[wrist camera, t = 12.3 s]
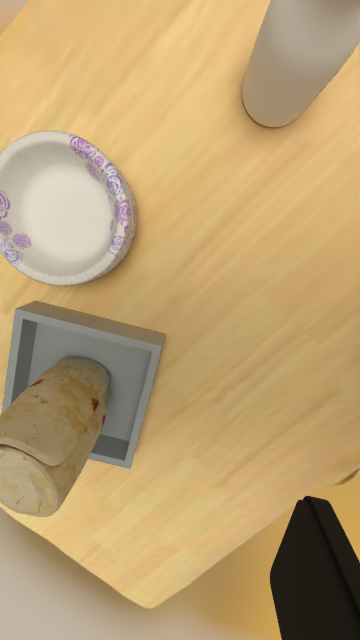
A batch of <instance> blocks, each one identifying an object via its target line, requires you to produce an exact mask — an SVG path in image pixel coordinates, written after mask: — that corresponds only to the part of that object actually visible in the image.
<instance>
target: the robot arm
mask: <svg viewBox="0 0 360 640" xmlns="http://www.w3.org/2000/svg"><path fill="white" fill-rule="evenodd" d="M270 585H271V590H272V595H273V600H274V604H275V609H276V613H277V619H278V623H279V628H280V633H281V638H282V640H360V562H359V560H358V558H357V556H356V554H355V552H354V550H353V548H352V546H351V544H350V542H349V540H348V538H347V536H346V534H345V532H344V530H343V528H342V526H341V524H340V522H339V520H338V518H337V516H336V514H335V512H334V510H333V508H332V506H331V504H330V503H329V502H328V501H327V500H324V499H320V498H315V497H311V496H305V497H304V499H303V500H298V502H297V503H296V506H295V509H294V511H293V514H292V516H291V519H290V522H289V524H288V527H287V529H286V532H285V534H284V537H283V539H282V542H281V545H280V547H279V550H278V552H277V555H276V557H275V560H274V562H273V565H272V568H271V572H270Z"/></svg>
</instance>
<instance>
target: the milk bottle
mask: <svg viewBox="0 0 360 640" xmlns="http://www.w3.org/2000/svg"><path fill="white" fill-rule="evenodd" d="M359 41H360V0H271V2H270V4H269V7H268V9H267V12H266V14H265V17H264V19H263V22H262V25H261V28H260V31H259V34H258V36H257V39H256V42H255V45H254V48H253V51H252V54H251V57H250V60H249V63H248V66H247V69H246V72H245V76H244V79H243V84H242V98H243V103H244V106H245V108H246V110H247V112H248V114H249V115H250V116H251V117H252V118H253V119H254V120H255V121H256V122H258V123H259V124H261V125H263V126H267V127H281V126H284V125H287V124H289V123H291V122H292V121H294V120H295V119H296V118H297V117H298V116H299V115H300V114H302V112H303V111H304V110H305V109H306V108H307V107H308V106H309V105H310V104H311V102H312V101H313V100H314V99H315V98H316V97H317V96H318V94H319V93H320V92H321V91H322V90H323V89H324V88H325V87H326V85H327V84H328V83H329V82H330V81H331V80H332V78H333V77H334V76H335V75H336V74H337V73H338V71H339V70H340V69H341V67H342V66H343V65H344V64H345V62H346V61H347V60H348V58H349V57H350V56H351V54H352V53H353V51H354V49H355V48H356V46H357V45H358V43H359Z"/></svg>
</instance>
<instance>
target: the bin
mask: <svg viewBox="0 0 360 640" xmlns="http://www.w3.org/2000/svg"><path fill="white" fill-rule="evenodd" d="M164 339H165V334H162V333H158V332H154V331H150V330H146V329H142V328H138V327H135V326H131V325H127V324H123V323H119V322H115V321H111V320H108V319H104V318H100V317H96V316H92V315H88V314H84V313H81V312H77V311H73V310H69V309H65V308H61V307H57V306H54V305H50V304H46V303H42V302H38V301H34V302H31V303H29V304H26V305H24V306H21V307H19V308H16V310H15V317H14V324H13V332H12V339H11V347H10V354H9V362H8V369H7V377H6V384H5V392H4V399H3V407H2V413H3V412H4V411H5V410H6V409H7V408H8V407H9V406H10V404H11V403H12V402H13V401H14V400H15V399H16V398H17V397H18V396H19V395H20V394H21V393H22V392H24V391H25V390H26V389H27V388H28V387H30V386H31V385H32V384H33V383H34V382H35V381H36V380H37V379H38V378H39V377H40V376H41V375H42V374H43V373H44V372H46V371H47V370H48V369H50V368H51V367H53V366H54V365H55V364H56V363H57V362H58V361H59V360H60V359H62V358H65V357H76V358H86V359H91V360H93V361H95V362H97V363H99V364H100V365H101V366H102V367H103V368H105V369H106V371H107V373H108V376H109V385H108V388H109V393H110V395H109V405H108V410H107V415H106V418H105V421H104V424H103V427H102V429H101V432H100V434H99V436H98V439H97V441H96V443H95V445H94V447H93V449H92V451H91V453H90V455H89V457H88V459H92V460H96V461H100V462H104V463H108V464H112V465H117V466H121V467H125V468H129V469H131V465H132V461H133V457H134V453H135V450H136V446H137V442H138V438H139V434H140V431H141V427H142V423H143V419H144V415H145V411H146V408H147V404H148V400H149V396H150V392H151V389H152V385H153V381H154V377H155V373H156V369H157V366H158V362H159V358H160V354H161V350H162V347H163V343H164Z"/></svg>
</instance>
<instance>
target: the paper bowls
mask: <svg viewBox="0 0 360 640" xmlns="http://www.w3.org/2000/svg"><path fill="white" fill-rule="evenodd" d="M135 228H136V208H135V202H134V198H133V194H132V192H131V189H130V187H129V185H128V183H127V181H126V179H125V178H124V176H123V175H122V173H121V172H120V171H119V169H118V168H117V167H116V166H115V165H114V164H113V162H112V161H111V160H110V159H109V158H108V157H107V156H106V155H105V154H104V153H103V152H102V151H100V150H99V149H98V148H97V147H96V146H94V145H93V144H91V143H89V142H87V141H86V140H84V139H82V138H80V137H78V136H76V135H73V134H70V133H67V132H62V131H54V130H49V131H48V130H47V131H38V132H34V133H31V134H28V135H25V136H23V137H21V138H19V139H17V140H15V141H14V142H12V143H11V144H10V145H8V146H7V147H6V148H5V149H4V150H3V151H2V152H1V153H0V252H1V253H2V255H3V256H4V257H5V258H6V259H7V260H8V261H9V262H10V263H11V264H12V265H13V266H14V267H15V268H16V269H18V270H19V271H20V272H21V273H23V274H25V275H26V276H28V277H30V278H32V279H34V280H36V281H39V282H41V283H44V284H48V285H55V286H71V285H78V284H82V283H85V282H89V281H92V280H94V279H97V278H99V277H101V276H103V275H105V274H106V273H108V272H109V271H111V270H112V269H113V268H114V267H115V266H117V265H118V264H119V262H120V261H121V260H122V259H123V258H124V256H125V255H126V253H127V252H128V250H129V248H130V246H131V243H132V241H133V238H134V234H135Z"/></svg>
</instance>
